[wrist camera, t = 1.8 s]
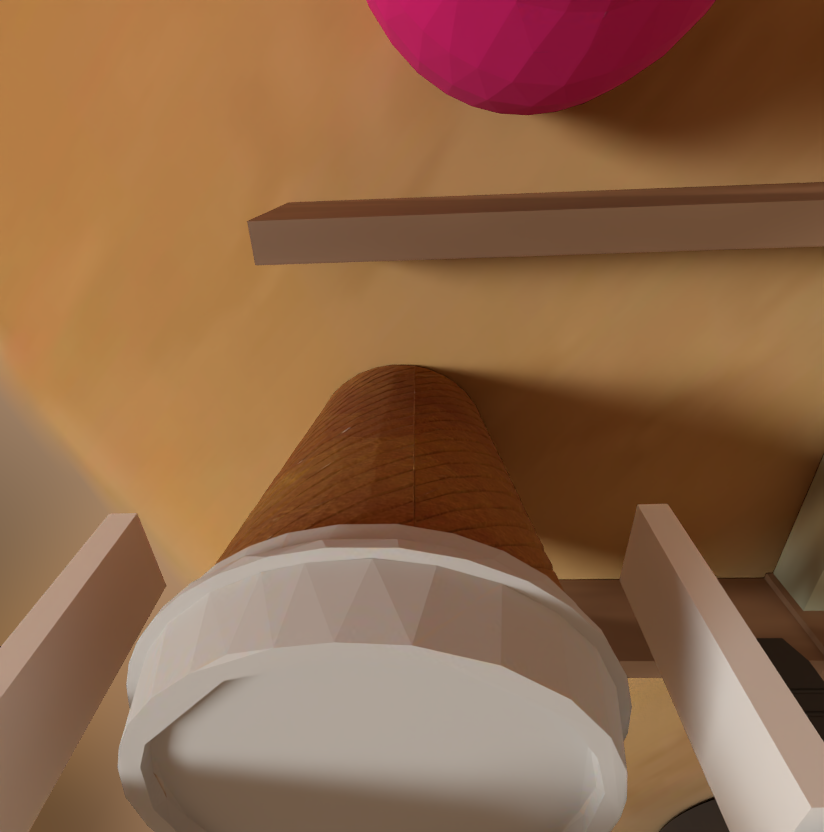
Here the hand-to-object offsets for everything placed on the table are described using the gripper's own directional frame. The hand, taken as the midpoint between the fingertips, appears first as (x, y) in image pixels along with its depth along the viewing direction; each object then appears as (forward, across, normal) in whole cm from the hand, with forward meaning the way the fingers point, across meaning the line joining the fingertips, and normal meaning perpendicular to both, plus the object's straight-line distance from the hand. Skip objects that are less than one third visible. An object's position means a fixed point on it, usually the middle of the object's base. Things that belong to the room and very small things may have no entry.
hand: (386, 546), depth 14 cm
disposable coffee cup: (+6, 0, 0) cm, 6 cm away
